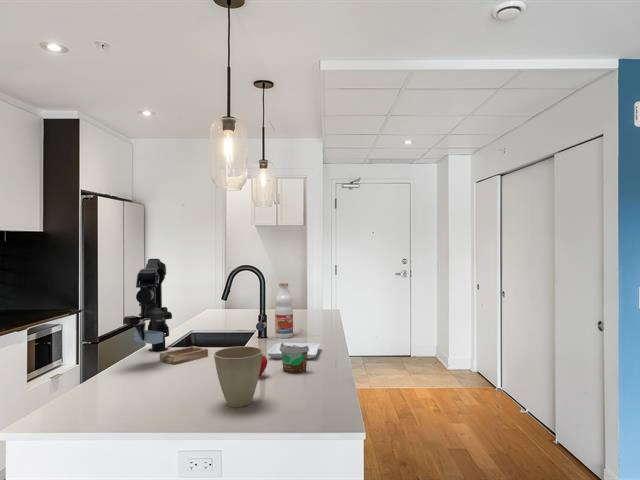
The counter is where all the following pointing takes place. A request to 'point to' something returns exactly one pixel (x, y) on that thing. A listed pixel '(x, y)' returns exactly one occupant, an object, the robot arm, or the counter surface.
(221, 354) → the plant pot
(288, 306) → the fruit juice
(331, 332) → the counter surface
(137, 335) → the fuselage block
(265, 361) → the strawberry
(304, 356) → the food container
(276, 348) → the salad plate
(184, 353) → the wooden tray
